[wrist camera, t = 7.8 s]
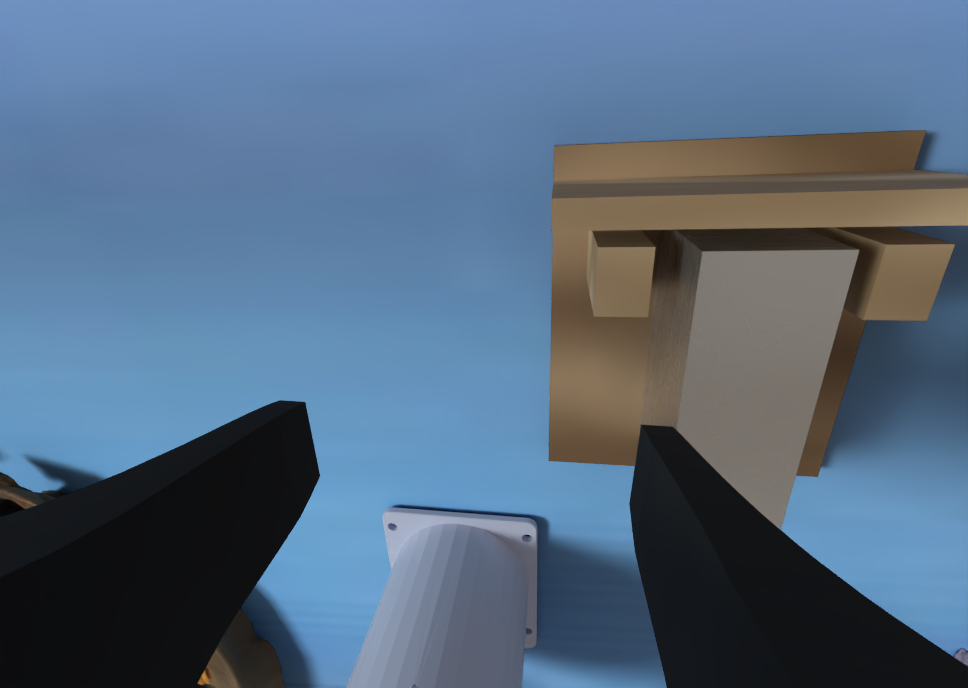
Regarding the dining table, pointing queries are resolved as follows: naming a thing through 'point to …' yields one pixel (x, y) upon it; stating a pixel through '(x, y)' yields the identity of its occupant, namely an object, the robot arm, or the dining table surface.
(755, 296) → the gray rectangular block
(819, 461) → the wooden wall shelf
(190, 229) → the dining table surface
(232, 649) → the food dish
